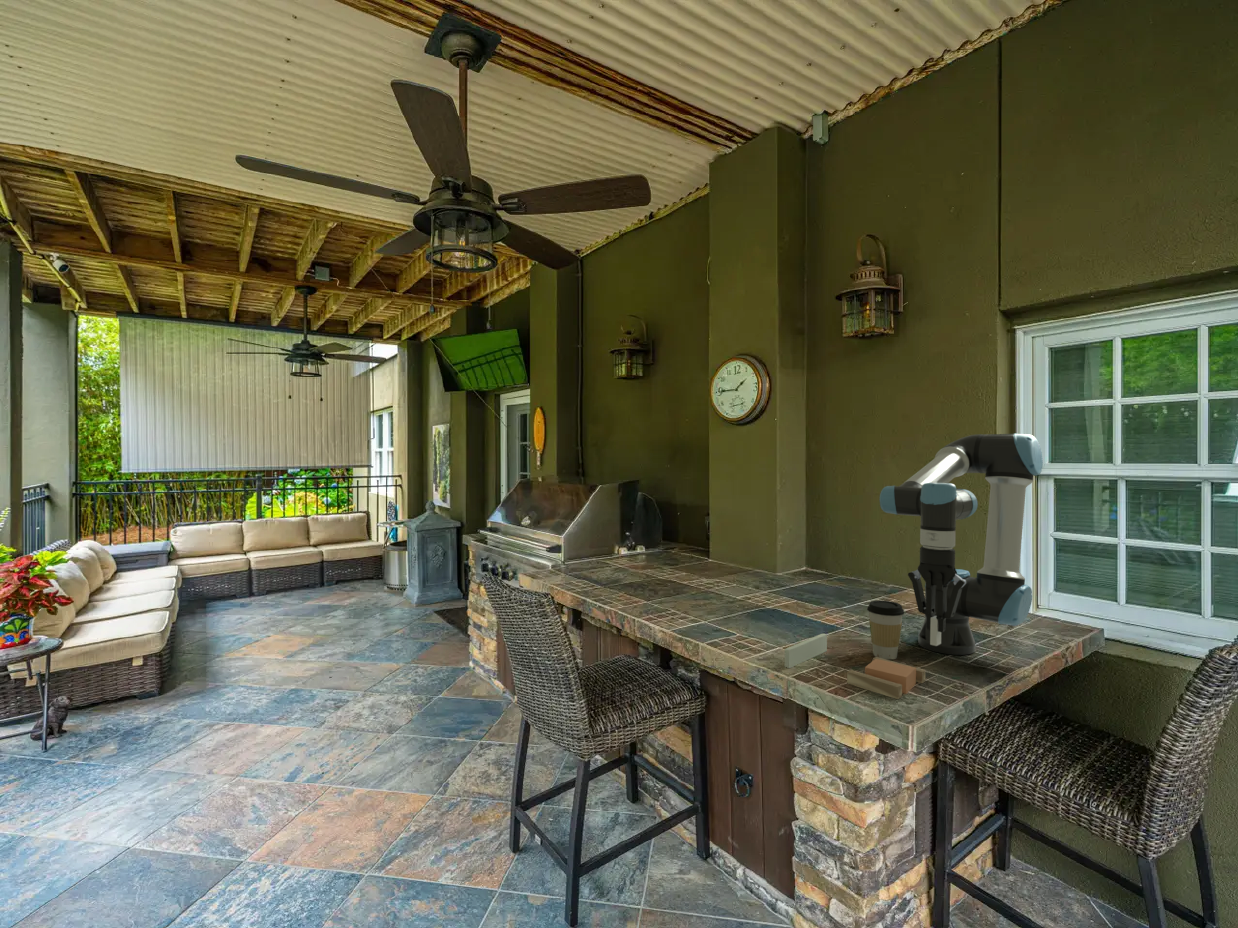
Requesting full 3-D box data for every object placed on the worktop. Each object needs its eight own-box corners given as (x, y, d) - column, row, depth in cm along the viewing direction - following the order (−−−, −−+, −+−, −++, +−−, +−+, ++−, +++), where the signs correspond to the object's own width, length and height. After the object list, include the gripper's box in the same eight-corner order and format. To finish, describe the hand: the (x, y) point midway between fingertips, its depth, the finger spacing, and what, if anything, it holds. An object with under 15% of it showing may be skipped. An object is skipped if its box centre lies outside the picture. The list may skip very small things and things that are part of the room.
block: (875, 675, 161) (875, 658, 160) (915, 685, 154) (915, 667, 154) (864, 684, 155) (865, 667, 154) (906, 695, 148) (906, 677, 148)
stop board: (822, 649, 179) (822, 633, 179) (826, 651, 178) (826, 634, 178) (784, 666, 166) (784, 649, 166) (789, 668, 165) (789, 650, 165)
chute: (875, 667, 165) (876, 656, 165) (925, 681, 155) (925, 669, 155) (847, 683, 155) (847, 671, 154) (898, 699, 145) (898, 687, 145)
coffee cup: (893, 649, 179) (893, 599, 179) (910, 661, 170) (911, 608, 169) (860, 649, 179) (861, 600, 179) (876, 662, 169) (876, 609, 169)
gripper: (903, 545, 147) (901, 640, 148) (961, 552, 137) (959, 654, 138) (916, 542, 152) (914, 634, 153) (972, 548, 142) (970, 647, 143)
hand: (935, 643), depth 145 cm, fingers closed
